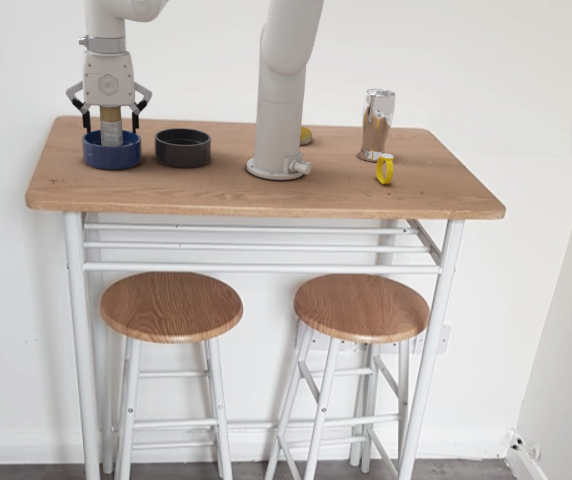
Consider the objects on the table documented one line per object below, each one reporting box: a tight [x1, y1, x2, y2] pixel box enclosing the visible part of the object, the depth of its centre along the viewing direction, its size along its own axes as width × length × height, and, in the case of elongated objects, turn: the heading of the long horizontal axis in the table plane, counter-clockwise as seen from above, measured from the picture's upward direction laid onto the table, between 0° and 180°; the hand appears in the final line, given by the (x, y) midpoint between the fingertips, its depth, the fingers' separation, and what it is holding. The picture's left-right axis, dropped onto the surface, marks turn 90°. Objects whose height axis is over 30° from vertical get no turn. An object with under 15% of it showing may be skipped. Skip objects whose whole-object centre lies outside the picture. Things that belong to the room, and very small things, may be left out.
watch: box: [375, 153, 395, 185], centre depth 151 cm, size 6×3×6 cm, turn 16°
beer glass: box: [358, 88, 397, 163], centre depth 162 cm, size 7×7×15 cm
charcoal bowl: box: [153, 127, 212, 169], centre depth 154 cm, size 12×12×5 cm
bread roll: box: [300, 125, 313, 146], centre depth 171 cm, size 8×9×4 cm
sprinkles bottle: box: [98, 106, 123, 146], centre depth 147 cm, size 5×5×14 cm
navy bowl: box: [81, 128, 143, 171], centre depth 150 cm, size 12×12×5 cm
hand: (111, 131), depth 148 cm, fingers open, 8 cm apart
